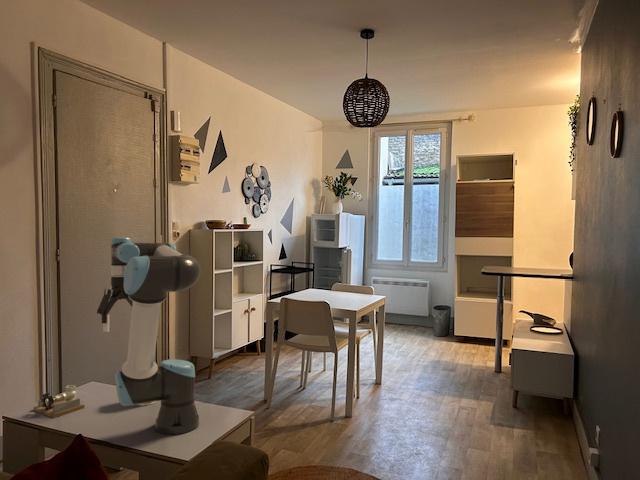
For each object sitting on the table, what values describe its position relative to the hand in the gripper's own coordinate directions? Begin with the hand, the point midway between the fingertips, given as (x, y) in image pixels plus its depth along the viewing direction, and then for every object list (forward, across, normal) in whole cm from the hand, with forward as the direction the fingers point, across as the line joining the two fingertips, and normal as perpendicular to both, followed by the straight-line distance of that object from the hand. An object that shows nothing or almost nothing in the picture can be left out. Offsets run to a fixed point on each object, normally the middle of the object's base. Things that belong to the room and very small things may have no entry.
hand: (120, 328), depth 195 cm
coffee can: (+30, -7, +6) cm, 32 cm away
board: (+30, +16, -15) cm, 37 cm away
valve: (+29, +16, -15) cm, 36 cm away
